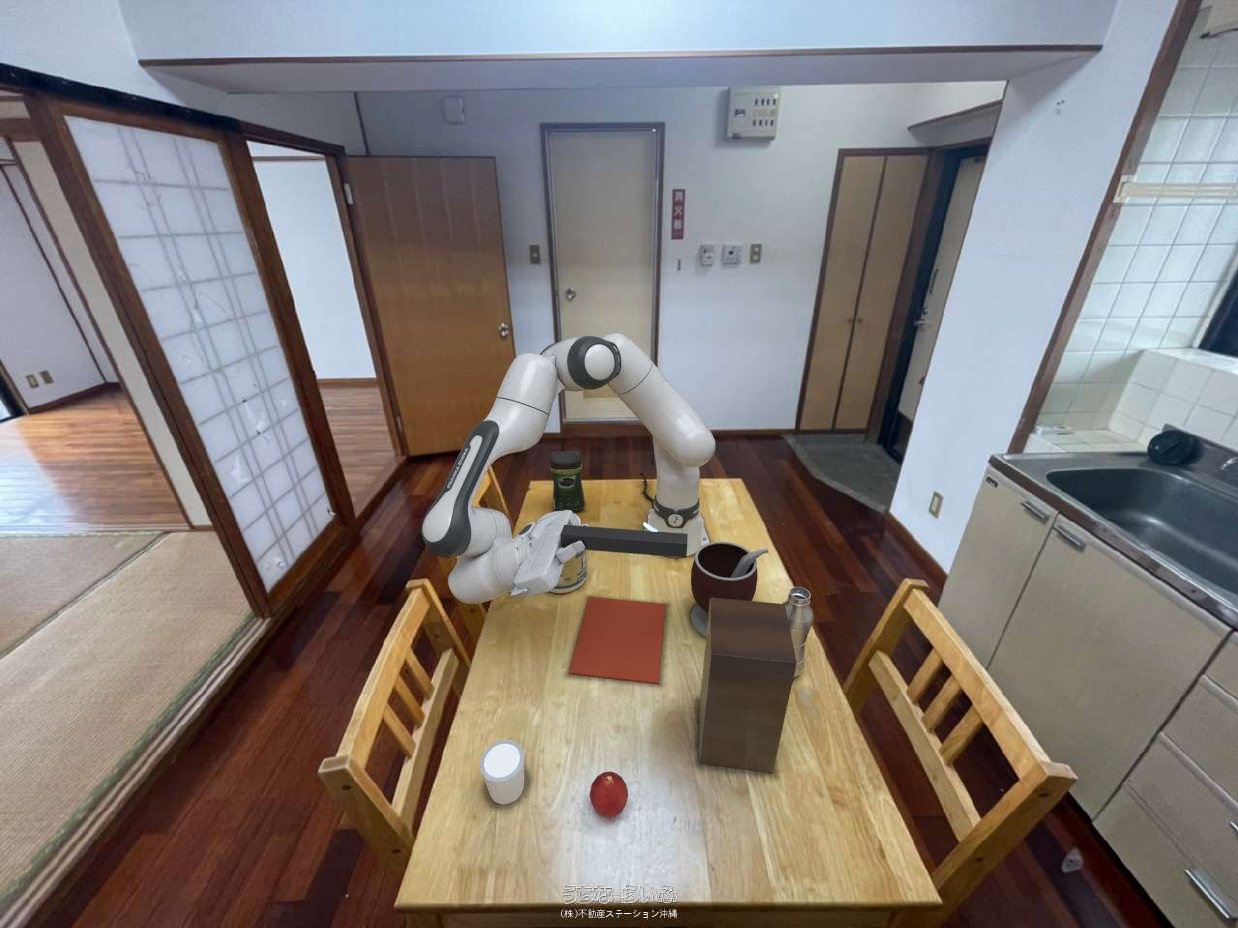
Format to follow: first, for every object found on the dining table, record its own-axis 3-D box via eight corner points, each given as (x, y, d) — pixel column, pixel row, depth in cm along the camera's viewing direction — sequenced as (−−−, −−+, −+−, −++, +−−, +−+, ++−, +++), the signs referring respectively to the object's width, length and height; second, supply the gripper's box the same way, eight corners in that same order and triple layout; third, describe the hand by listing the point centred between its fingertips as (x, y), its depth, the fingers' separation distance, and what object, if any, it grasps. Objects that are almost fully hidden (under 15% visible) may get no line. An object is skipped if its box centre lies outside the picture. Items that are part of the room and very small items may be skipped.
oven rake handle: (565, 538, 94) (564, 524, 92) (686, 547, 91) (687, 533, 90) (561, 548, 91) (560, 534, 90) (686, 558, 88) (687, 543, 87)
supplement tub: (589, 592, 124) (587, 535, 117) (538, 598, 123) (532, 540, 115) (584, 561, 135) (582, 506, 127) (537, 566, 133) (532, 510, 126)
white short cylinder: (477, 783, 84) (471, 757, 81) (514, 757, 88) (510, 731, 85) (498, 818, 80) (492, 791, 76) (536, 788, 83) (532, 762, 80)
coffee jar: (584, 499, 162) (582, 446, 154) (584, 513, 155) (582, 458, 147) (553, 500, 162) (549, 447, 153) (552, 514, 155) (548, 459, 146)
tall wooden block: (699, 702, 97) (710, 597, 85) (764, 709, 96) (784, 603, 84) (699, 763, 87) (711, 653, 75) (772, 773, 85) (796, 662, 73)
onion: (583, 813, 80) (581, 782, 76) (604, 781, 84) (603, 751, 81) (614, 835, 77) (613, 805, 74) (634, 802, 82) (635, 771, 78)
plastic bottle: (804, 685, 101) (822, 607, 91) (768, 679, 102) (782, 602, 93) (800, 659, 106) (817, 583, 97) (766, 654, 107) (780, 579, 98)
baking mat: (589, 598, 123) (589, 596, 122) (665, 605, 120) (665, 603, 120) (568, 674, 103) (568, 672, 103) (658, 684, 101) (658, 682, 101)
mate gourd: (690, 643, 110) (696, 569, 101) (685, 598, 122) (690, 528, 113) (763, 644, 110) (776, 570, 100) (751, 599, 122) (761, 529, 113)
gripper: (494, 586, 86) (562, 559, 81) (530, 518, 104) (587, 492, 99) (516, 613, 88) (583, 588, 83) (547, 541, 106) (604, 517, 101)
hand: (586, 535), depth 91 cm, fingers closed on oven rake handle, 3 cm apart
